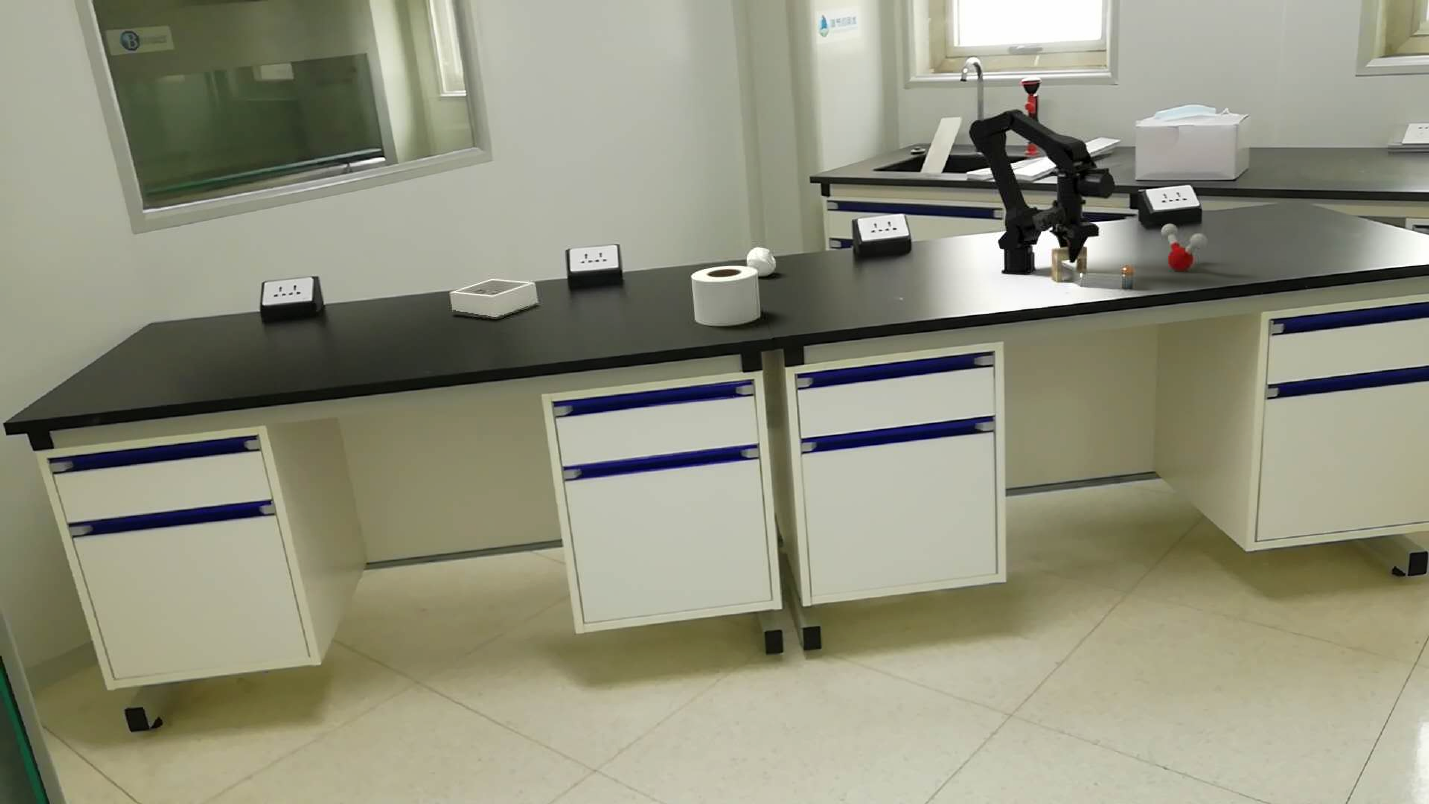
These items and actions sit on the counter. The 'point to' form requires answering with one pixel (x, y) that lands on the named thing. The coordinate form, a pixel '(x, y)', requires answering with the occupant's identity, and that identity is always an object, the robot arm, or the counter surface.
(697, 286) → the toilet paper roll
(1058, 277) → the arch
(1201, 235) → the molecular model
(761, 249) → the crumpled paper ball
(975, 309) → the counter surface
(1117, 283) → the bent rail
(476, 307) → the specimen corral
